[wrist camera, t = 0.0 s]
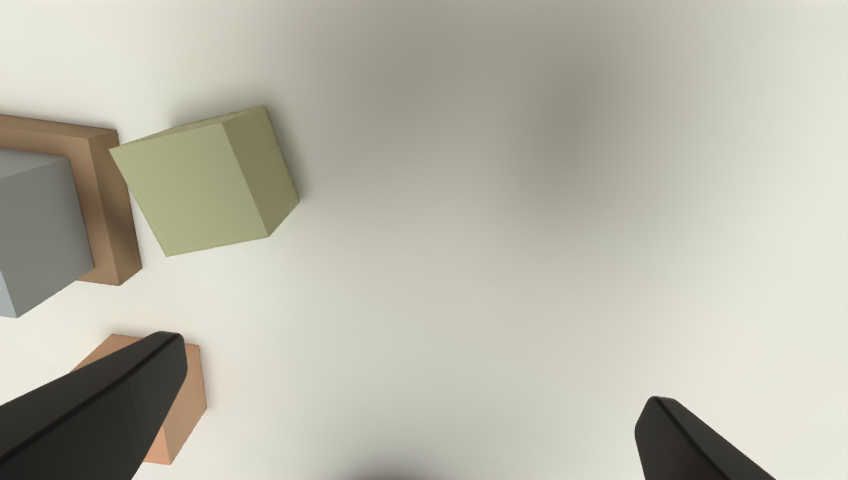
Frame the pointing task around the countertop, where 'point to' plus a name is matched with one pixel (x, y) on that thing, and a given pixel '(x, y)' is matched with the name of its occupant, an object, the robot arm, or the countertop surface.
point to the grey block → (38, 230)
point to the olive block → (209, 181)
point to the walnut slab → (87, 189)
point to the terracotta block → (183, 409)
